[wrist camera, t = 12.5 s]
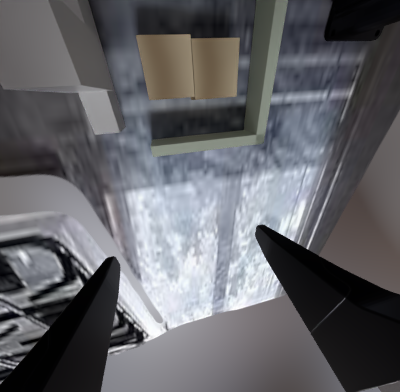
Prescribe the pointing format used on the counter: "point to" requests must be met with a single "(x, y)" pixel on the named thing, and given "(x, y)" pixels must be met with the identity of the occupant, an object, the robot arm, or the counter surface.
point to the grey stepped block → (58, 56)
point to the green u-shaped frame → (256, 95)
